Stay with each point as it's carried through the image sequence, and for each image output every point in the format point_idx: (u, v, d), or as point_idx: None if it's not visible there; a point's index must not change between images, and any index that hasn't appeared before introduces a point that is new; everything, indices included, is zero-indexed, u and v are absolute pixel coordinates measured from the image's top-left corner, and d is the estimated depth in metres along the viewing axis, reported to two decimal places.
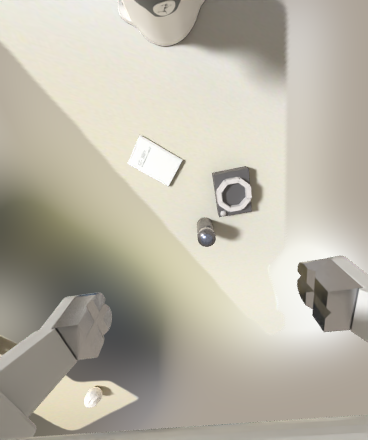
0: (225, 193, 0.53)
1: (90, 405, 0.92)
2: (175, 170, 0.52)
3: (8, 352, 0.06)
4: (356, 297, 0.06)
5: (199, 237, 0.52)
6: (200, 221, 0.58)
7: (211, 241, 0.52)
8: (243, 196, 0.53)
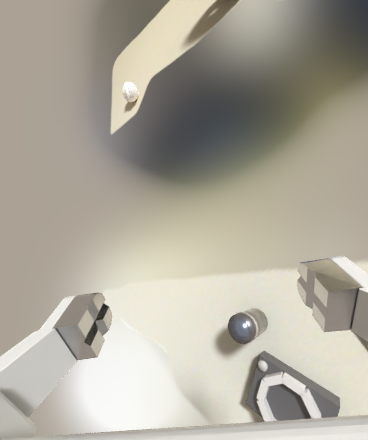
0: (294, 395, 0.32)
1: (124, 87, 0.90)
2: None
3: (8, 352, 0.06)
4: (356, 297, 0.06)
5: (248, 321, 0.34)
6: (265, 322, 0.39)
7: (233, 332, 0.35)
8: (275, 414, 0.33)
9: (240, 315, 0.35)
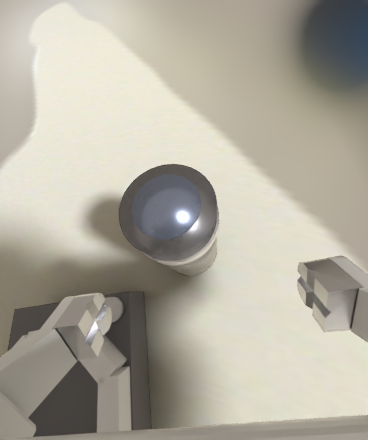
0: (92, 414, 0.12)
1: None
2: None
3: (8, 352, 0.06)
4: (356, 297, 0.06)
5: (208, 215, 0.09)
6: (204, 267, 0.15)
7: (141, 193, 0.09)
8: None
9: (207, 185, 0.09)
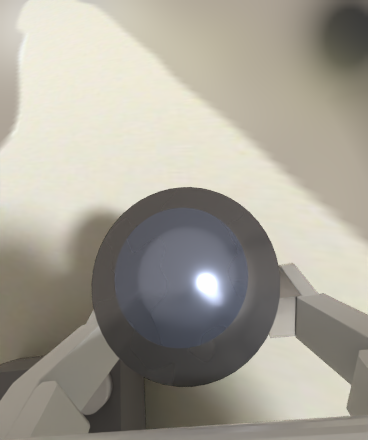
0: None
1: None
2: None
3: (59, 346, 0.06)
4: (296, 305, 0.06)
5: (264, 297, 0.04)
6: None
7: (133, 243, 0.05)
8: None
9: (256, 231, 0.05)
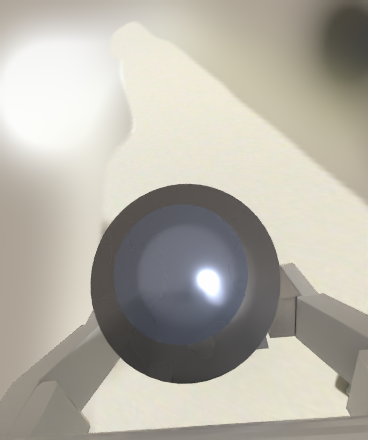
0: None
1: None
2: None
3: (59, 346, 0.06)
4: (296, 305, 0.06)
5: (264, 293, 0.04)
6: None
7: (132, 239, 0.05)
8: None
9: (256, 228, 0.05)
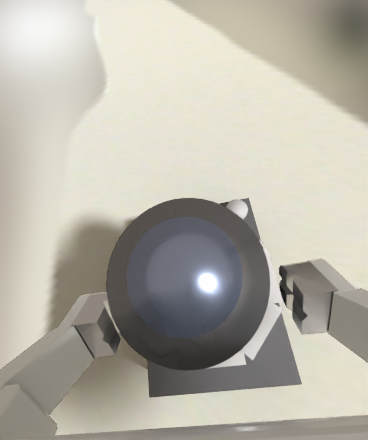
0: None
1: None
2: None
3: (28, 350, 0.06)
4: (331, 300, 0.06)
5: (256, 295, 0.05)
6: None
7: (142, 247, 0.06)
8: None
9: (250, 238, 0.06)
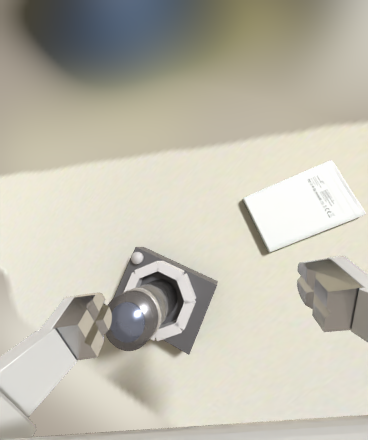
0: None
1: None
2: (261, 228, 0.26)
3: (8, 352, 0.06)
4: (356, 297, 0.06)
5: (144, 306, 0.17)
6: (173, 300, 0.23)
7: (113, 329, 0.17)
8: None
9: (131, 296, 0.17)
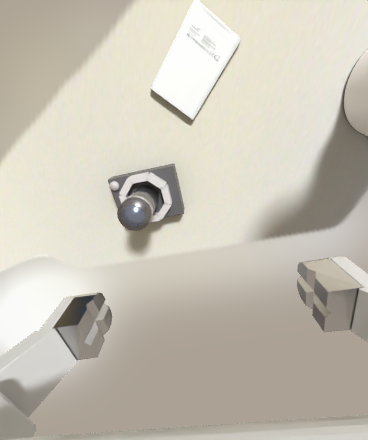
0: None
1: None
2: (177, 105, 0.32)
3: (8, 352, 0.06)
4: (356, 297, 0.06)
5: (135, 202, 0.27)
6: (154, 192, 0.34)
7: (130, 224, 0.28)
8: None
9: (125, 203, 0.27)
